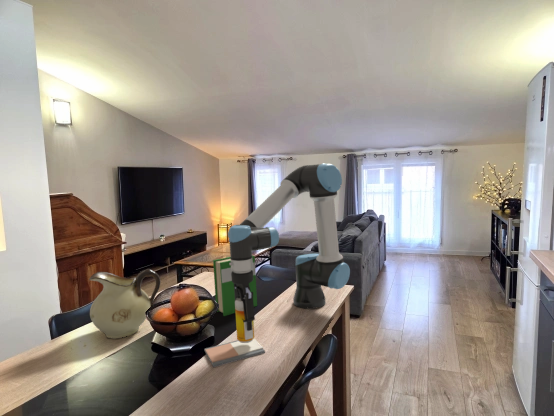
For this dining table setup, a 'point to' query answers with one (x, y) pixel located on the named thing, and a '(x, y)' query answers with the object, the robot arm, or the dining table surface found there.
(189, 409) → the dining table surface
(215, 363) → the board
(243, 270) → the robot arm
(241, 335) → the yellow bottle
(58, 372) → the dining table surface
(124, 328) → the pitcher
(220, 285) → the hardback book
